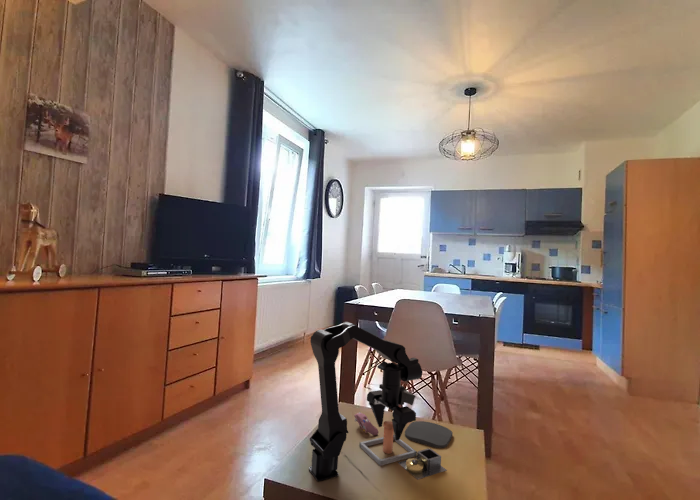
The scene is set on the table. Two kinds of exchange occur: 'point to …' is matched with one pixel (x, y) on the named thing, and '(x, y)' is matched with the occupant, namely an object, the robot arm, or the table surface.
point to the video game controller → (365, 424)
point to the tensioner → (423, 464)
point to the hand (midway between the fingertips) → (388, 433)
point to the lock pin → (388, 437)
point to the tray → (384, 461)
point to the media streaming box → (429, 434)
